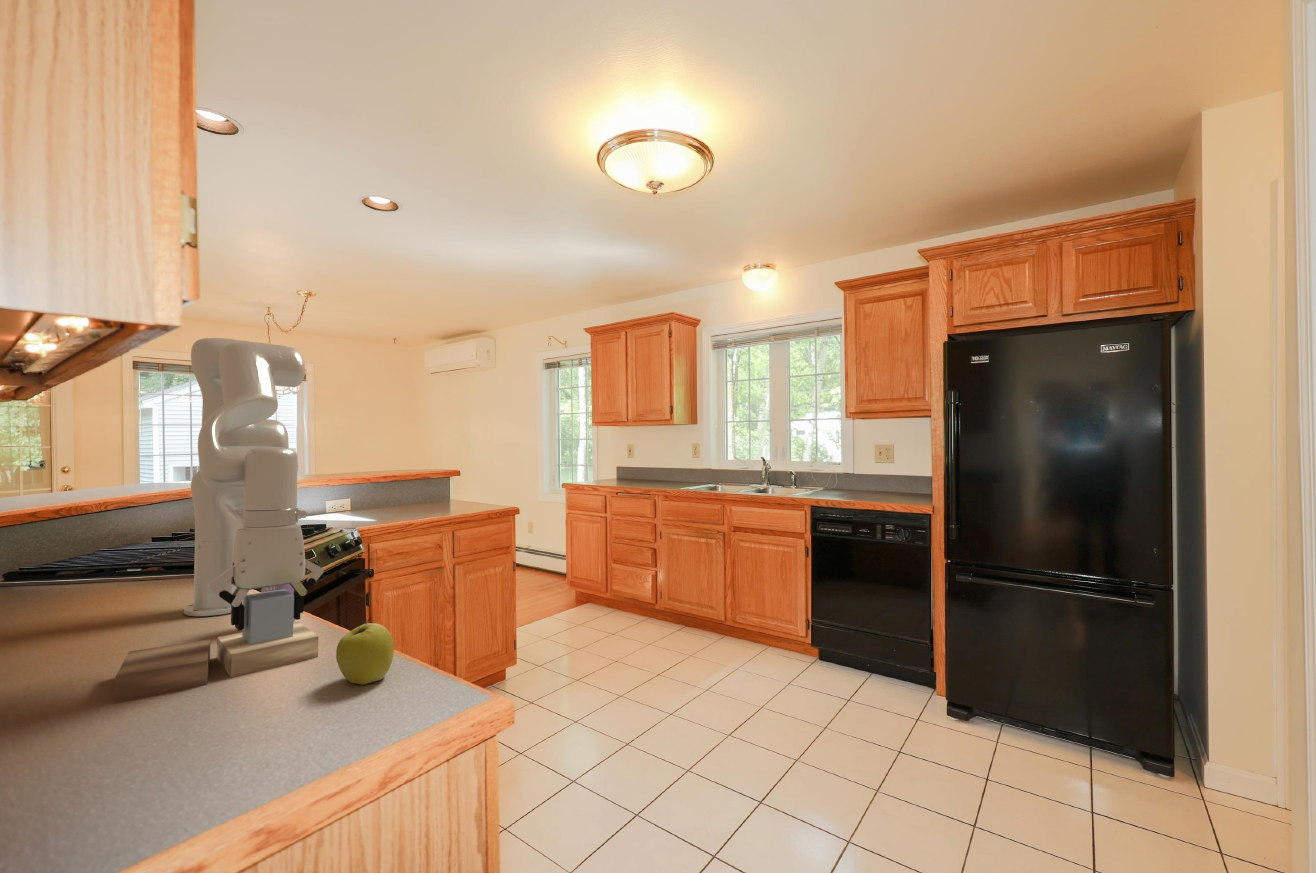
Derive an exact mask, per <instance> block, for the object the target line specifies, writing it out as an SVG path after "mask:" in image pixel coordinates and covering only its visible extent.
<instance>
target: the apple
mask: <svg viewBox="0 0 1316 873" xmlns="http://www.w3.org/2000/svg"><path fill="white" fill-rule="evenodd" d="M371 619H372V618H371V617H370V618H369V619H368V620H367V621H366V623H363V624H361V625H359V626H357V627H355V628H353V629H352V630H350V631H349V632H347V633H346V634H344V636H343V637H342V638H341V639H340V640H339V642H338V643H337V646H336V650H335V652H336V653H335V656H336V657H335V658H336V663H337V666H338V668H339V670H340V672H341V674H342V676H343V677H344V678H345V679H346V680H347V681H348V682H350V683H352V684H356V685H357V684H358V685H368V684H370V683H373V682H377V681H381V680H382V679H384V678H385V677H386V675H387V673H388V672H389V671H390V668H391V665H392V663H393V658H394V653H395V651H394V650H395V648H394V647H395V645H394V643H395V642H394V640H393V637H392V635H391V632H390V631H389V630H388V629H387V627H385V626H384V625H382V624H380V623H375V622H373V623H370V621H371ZM368 622H369V623H368Z"/></svg>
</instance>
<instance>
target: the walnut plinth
mask: <svg viewBox="0 0 1316 873" xmlns="http://www.w3.org/2000/svg"><path fill="white" fill-rule="evenodd" d="M210 662H211V639H210V638H209V639H202V640H196V641H190V642H181V643H175V644H170V645H162V646H157V647H149V648H142V649H136V650H130V651H128V653H127V655H126V657H125V658H124V661H123V662H122V664H121V666H120V667H119V669H118V671H117V673H116V675H115V682H114V683H115V685H114V687H115V688H114V690H115V691H114V703H119V702H124V701H129V700H134V699H139V698H140V699H141V698H145V697H150V696H155V695H160V694H165V693H171V692H176V691H181V690H187V689H191V688H192V689H193V688H197V687H201V686H203V687H204V686H207V684H208V677H209V670H210Z"/></svg>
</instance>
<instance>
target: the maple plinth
mask: <svg viewBox="0 0 1316 873" xmlns="http://www.w3.org/2000/svg"><path fill="white" fill-rule="evenodd" d="M319 638H320V637H319V635H318V634H316V633H315V632H314V631H312V630H311V629H310V628H308V627H306V626H305V625H304V624H303V623H301V622H299V621H294V623H293V636H292V637H287V638H282V639H277V640H272V641H267V642H262V643H257V644H252V645H250V644H249V643H248V642H247V641H246V640H245V639H244V638H243V637H242V631H241V632H237V633H232V634H225V635H220V636H218V637H217V638H216V639H217V640H216V641H217V642H216V658H217V660H218V661H219V662H220V664H221V665H222V667H223V668H224V670H225V671H226V673H228V675H229V677H230V678H234V677H239V676H243V675H247V674H252V673H255V672H260V671H263V670H268V669H269V670H270V669H272V668H276V667H282V666H286V665H289V664H294V663H299V662H303V661H307V660H311V659H315V658H316V659H317V658H319V640H320V639H319Z"/></svg>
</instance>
